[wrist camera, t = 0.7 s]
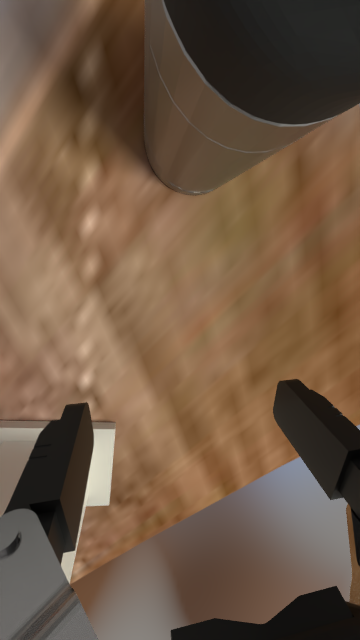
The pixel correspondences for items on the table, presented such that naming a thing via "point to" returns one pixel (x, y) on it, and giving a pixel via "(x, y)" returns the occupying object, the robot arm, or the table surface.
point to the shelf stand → (13, 453)
